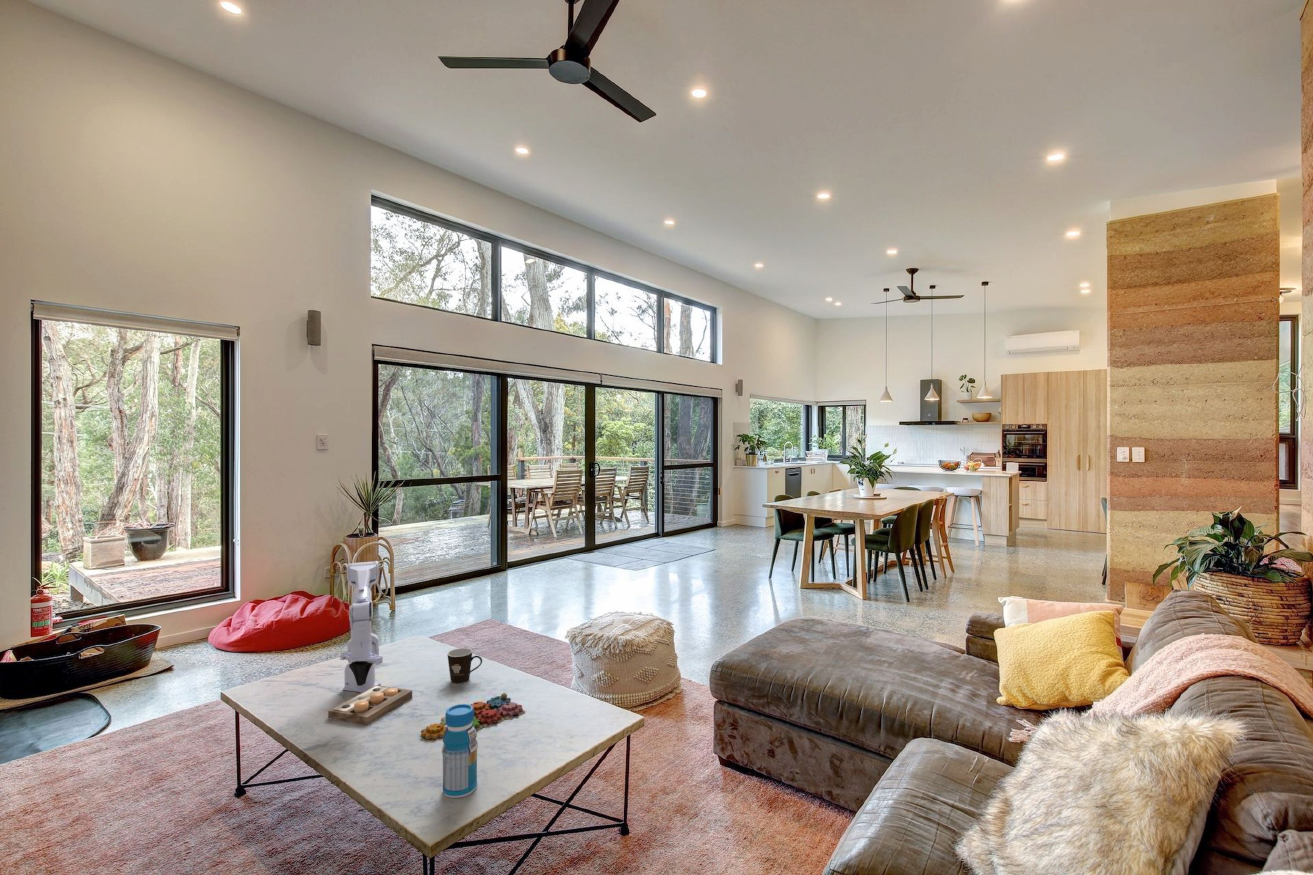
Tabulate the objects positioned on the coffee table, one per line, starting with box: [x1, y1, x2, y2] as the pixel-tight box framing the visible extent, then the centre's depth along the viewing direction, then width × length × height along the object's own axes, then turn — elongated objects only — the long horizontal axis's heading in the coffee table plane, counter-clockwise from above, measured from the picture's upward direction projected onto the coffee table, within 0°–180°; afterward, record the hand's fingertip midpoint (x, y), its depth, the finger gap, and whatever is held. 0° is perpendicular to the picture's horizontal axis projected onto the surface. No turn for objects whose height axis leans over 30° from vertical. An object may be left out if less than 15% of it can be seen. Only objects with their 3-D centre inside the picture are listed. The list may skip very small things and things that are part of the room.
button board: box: [327, 685, 413, 726], centre depth 194 cm, size 15×20×3 cm
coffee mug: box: [446, 647, 483, 685], centre depth 215 cm, size 12×9×10 cm
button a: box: [354, 701, 369, 713], centre depth 187 cm, size 4×4×2 cm
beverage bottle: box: [441, 703, 479, 799], centre depth 149 cm, size 8×8×20 cm
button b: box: [370, 692, 384, 704], centre depth 193 cm, size 4×4×2 cm
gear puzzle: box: [420, 692, 526, 740], centre depth 185 cm, size 31×16×4 cm, turn 133°
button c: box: [385, 687, 398, 697], centre depth 199 cm, size 4×4×2 cm
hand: (361, 684), depth 187 cm, fingers closed
